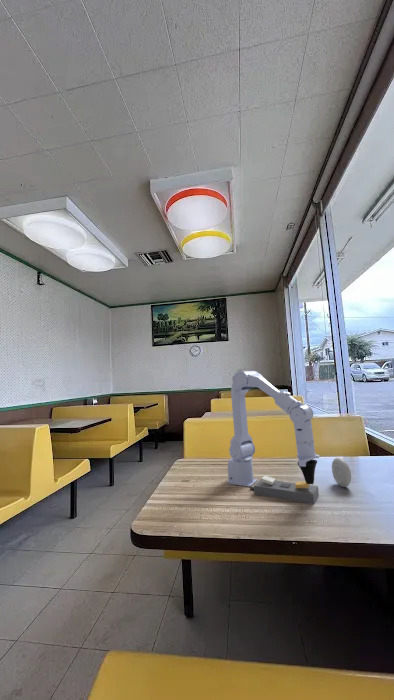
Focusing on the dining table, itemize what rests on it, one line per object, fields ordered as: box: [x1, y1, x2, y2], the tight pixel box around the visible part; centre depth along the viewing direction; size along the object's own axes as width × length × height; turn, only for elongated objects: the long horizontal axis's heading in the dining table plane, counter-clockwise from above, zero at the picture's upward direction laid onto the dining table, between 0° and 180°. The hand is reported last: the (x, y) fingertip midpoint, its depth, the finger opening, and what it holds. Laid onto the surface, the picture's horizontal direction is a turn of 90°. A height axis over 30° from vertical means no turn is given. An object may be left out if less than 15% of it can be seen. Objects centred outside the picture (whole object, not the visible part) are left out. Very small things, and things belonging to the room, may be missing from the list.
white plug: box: [260, 475, 277, 485], centre depth 107 cm, size 4×4×1 cm
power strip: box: [249, 479, 320, 505], centre depth 105 cm, size 23×8×3 cm, turn 58°
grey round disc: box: [331, 457, 352, 488], centre depth 109 cm, size 10×4×10 cm, turn 2°
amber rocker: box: [295, 480, 311, 488], centre depth 101 cm, size 4×4×1 cm
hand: (310, 483), depth 100 cm, fingers closed, pressing on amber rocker
